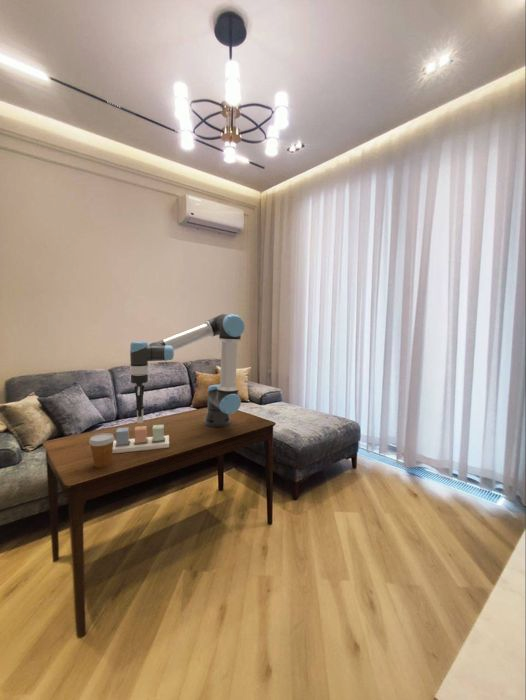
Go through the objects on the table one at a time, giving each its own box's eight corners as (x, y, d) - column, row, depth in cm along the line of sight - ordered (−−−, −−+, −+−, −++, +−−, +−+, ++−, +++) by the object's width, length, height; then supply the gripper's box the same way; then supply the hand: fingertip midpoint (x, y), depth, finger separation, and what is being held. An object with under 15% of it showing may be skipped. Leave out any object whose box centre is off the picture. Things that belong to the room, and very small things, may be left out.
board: (168, 438, 156) (168, 435, 156) (169, 447, 146) (169, 443, 145) (113, 444, 148) (113, 440, 148) (109, 454, 138) (109, 449, 137)
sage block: (163, 435, 152) (163, 424, 151) (163, 439, 147) (163, 427, 147) (153, 436, 151) (152, 425, 150) (152, 440, 146) (152, 428, 145)
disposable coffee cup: (96, 459, 133) (95, 432, 131) (118, 458, 133) (118, 432, 132) (85, 470, 123) (84, 441, 122) (109, 469, 124) (108, 441, 123)
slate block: (129, 439, 147) (128, 427, 147) (128, 443, 142) (127, 431, 142) (117, 440, 146) (117, 428, 145) (116, 444, 141) (115, 432, 140)
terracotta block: (146, 437, 150) (146, 425, 149) (146, 441, 145) (145, 429, 144) (135, 438, 148) (135, 426, 147) (134, 442, 143) (134, 430, 143)
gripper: (132, 371, 148) (133, 418, 151) (129, 377, 136) (130, 427, 138) (148, 371, 150) (149, 417, 153) (147, 376, 138) (147, 426, 140)
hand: (140, 422), depth 145 cm, fingers closed
